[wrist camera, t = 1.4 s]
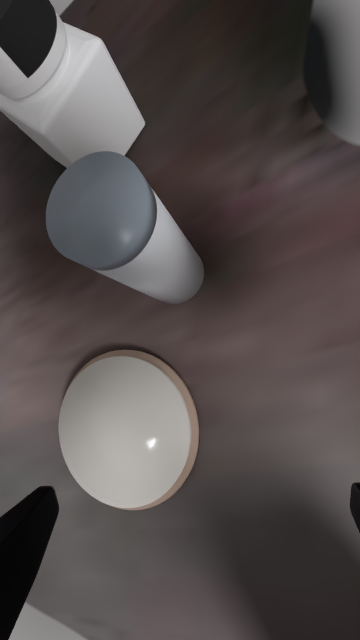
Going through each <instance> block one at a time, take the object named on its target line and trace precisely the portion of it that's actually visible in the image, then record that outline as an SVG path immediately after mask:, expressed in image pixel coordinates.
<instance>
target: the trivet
mask: <svg viewBox="0 0 360 640" xmlns="http://www.w3.org/2000/svg"><path fill="white" fill-rule="evenodd" d="M199 436H200V429H199V418H198V413H197V409H196V406H195V403H194V400H193V397H192V395H191V393H190V391H189V389H188V387H187V386H186V384H185V383H184V381H183V380H182V378H181V377H180V376H179V375H178V373H177V372H176V371H175V370H174V369H173V368H171V367H170V366H169V365H168V364H167V363H165V362H164V361H162V360H161V359H159V358H157V357H155V356H154V355H151V354H148V353H146V352H142V351H137V350H116V351H111V352H107V353H105V354H102V355H99V356H98V357H96V358H94V359H92V360H91V361H90V362H88V363H87V364H86V365H85V366H84V367H83V368H82V369H81V370H80V371H79V372H78V373H77V374H76V376H75V377H74V378H73V380H72V382H71V383H70V385H69V387H68V389H67V391H66V394H65V397H64V399H63V403H62V406H61V410H60V415H59V439H60V445H61V450H62V454H63V457H64V459H65V462H66V464H67V466H68V469H69V470H70V472H71V474H72V475H73V477H74V478H75V480H76V481H77V482H78V484H79V485H80V486H81V487H82V488H83V489H84V490H85V491H86V492H87V493H89V494H90V495H91V496H92V497H94V498H96V499H97V500H99V501H100V502H103V503H105V504H107V505H110V506H112V507H116V508H119V509H125V510H142V509H147V508H151V507H153V506H156V505H158V504H160V503H162V502H164V501H165V500H167V499H168V498H170V497H171V496H172V495H173V494H174V493H175V492H176V491H177V490H178V489H179V488H180V487H181V486H182V484H183V483H184V481H185V480H186V478H187V477H188V475H189V473H190V471H191V469H192V467H193V465H194V462H195V459H196V456H197V452H198V447H199Z"/></svg>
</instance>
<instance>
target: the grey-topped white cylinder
mask: <svg viewBox="0 0 360 640" xmlns="http://www.w3.org/2000/svg"><path fill="white" fill-rule="evenodd" d="M46 228H47V232H48V235H49V238H50V240H51V242H52V244H53V246H54V247H55V248H56V249H57V251H58V252H60V253H61V254H62V255H63V256H65V257H66V258H68V259H70V260H72V261H75V262H77V263H79V264H81V265H83V266H85V267H88V268H90V269H92V270H94V271H96V272H98V273H101V274H103V275H105V276H107V277H109V278H112V279H114V280H116V281H118V282H120V283H122V284H125V285H127V286H129V287H131V288H133V289H135V290H138V291H140V292H142V293H144V294H146V295H148V296H151V297H153V298H155V299H157V300H159V301H162V302H164V303H167V304H180V303H183V302H186V301H188V300H189V299H191V298H192V297H193V296H194V295H195V294H196V293H197V292H198V291H199V289H200V287H201V285H202V283H203V279H204V266H203V263H202V260H201V259H200V257H199V255H198V254H197V253H196V251H195V250H194V248H193V247H192V245H191V244H190V243H189V241H188V240H187V238H186V237H185V235H184V234H183V232H182V231H181V230H180V228H179V227H178V225H177V224H176V222H175V221H174V220H173V218H172V217H171V215H170V214H169V212H168V211H167V210H166V208H165V207H164V205H163V204H162V202H161V201H160V199H159V198H158V197H157V195H156V194H155V192H154V191H153V189H152V188H151V187H150V185H149V184H148V182H147V181H146V179H145V178H144V177H143V175H142V174H141V172H140V171H139V169H138V168H137V167H136V165H135V164H134V163H133V162H132V161H131V160H130V159H128V158H127V157H125V156H123V155H121V154H119V153H115V152H109V151H101V152H95V153H92V154H88V155H86V156H84V157H82V158H80V159H78V160H77V161H75V162H74V163H73V164H71V165H70V166H69V167H68V168H67V169H66V170H65V171H64V172H63V173H62V175H61V176H60V177H59V179H58V180H57V181H56V183H55V185H54V187H53V189H52V191H51V193H50V196H49V199H48V203H47V208H46Z"/></svg>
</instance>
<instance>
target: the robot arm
mask: <svg viewBox="0 0 360 640" xmlns="http://www.w3.org/2000/svg"><path fill="white" fill-rule="evenodd" d="M350 509H351V513H352V516H353V518H354V521H355V523H356V526H357V528H358V530H359V533H360V483H353V484H352V487H351V498H350ZM58 512H59V504H58V500H57V496H56V492H55V489H54V487H53V486H40V487H38V488H37V489H36V490H34V491H33V492H32V493H31V494H29V495H28V496H27V497H25V498H24V499H23V500H22V501H20V502H19V503H18V504H17V505H15V506H14V507H13V508H12V509H10V510H9V511H8V512H7V513H5V514H4V515H3V516H1V517H0V640H8V639H9V637H10V635H11V633H12V630H13V628H14V626H15V623H16V621H17V619H18V617H19V614H20V612H21V610H22V608H23V605H24V603H25V601H26V598H27V596H28V594H29V592H30V589H31V587H32V585H33V582H34V580H35V578H36V575H37V573H38V570H39V567H40V565H41V562H42V559H43V556H44V553H45V551H46V548H47V545H48V542H49V539H50V536H51V533H52V531H53V528H54V525H55V522H56V519H57V516H58Z"/></svg>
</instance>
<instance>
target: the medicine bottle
mask: <svg viewBox="0 0 360 640" xmlns="http://www.w3.org/2000/svg"><path fill="white" fill-rule="evenodd" d="M0 111H1V112H2V113H3V114H5V115H6V116H7V117H8V118H9V119H10V120H11V121H12V122H13V123H15V124H16V125H17V126H18V127H19V128H20V129H21V130H22V131H23V132H25V133H26V134H27V135H28V136H29V137H30V138H31V139H32V140H33V141H34V142H36V143H37V144H38V145H39V146H40V147H41V148H42V149H43V150H44V151H46V152H47V153H48V154H49V155H50V156H51V157H52V158H53V159H55V160H56V161H58V162H59V163H60V164H62V165H63V166H65V167H66V168H68V167H69V166H70V165H71V164H73V163H74V162H75V161H77V160H78V159H80V158H82V157H84V156H86V155H88V154H92V153H95V152H101V151H109V152H115V153H119V154H121V155H123V156H125V154H126V153H127V151H128V150H129V148H130V147H131V145H132V144H133V142H134V141H135V139H136V138H137V136H138V135H139V133H140V132H141V130H142V129H143V127H144V125H145V121H144V119H143V117H142V115H141V113H140V111H139V110H138V108H137V106H136V104H135V102H134V100H133V98H132V96H131V94H130V92H129V90H128V89H127V87H126V85H125V83H124V81H123V79H122V77H121V75H120V73H119V71H118V70H117V68H116V66H115V64H114V62H113V60H112V58H111V56H110V54H109V52H108V50H107V49H106V47H105V45H104V43H103V41H102V40H101V39H100V38H99V37H96V36H94V35H92V34H89V33H87V32H85V31H82V30H80V29H78V28H75V27H73V26H71V25H68V24H66V23H64V22H62V21H61V19H60V17H59V16H58V14H57V13H56V11H55V9H54V8H53V6H52V5H51V3H50V1H49V0H0Z"/></svg>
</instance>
